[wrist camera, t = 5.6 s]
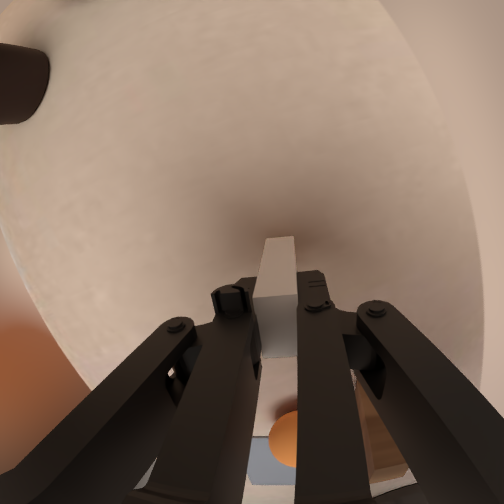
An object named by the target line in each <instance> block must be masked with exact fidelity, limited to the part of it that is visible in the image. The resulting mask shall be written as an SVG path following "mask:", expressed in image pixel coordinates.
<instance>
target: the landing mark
mask: <svg viewBox="0 0 504 504" xmlns="http://www.w3.org/2000/svg"><path fill="white" fill-rule="evenodd" d="M268 439H269V437H252V442H251V448H250V455H249V461H248V468H247V474H248V476H249V479H250V481H251V483H252V485H295V480H296V468H295V467H290V466H287V465H284V464H282V463H281V462H279V461H278V460H277V459H276V458H275V457H274V456H273V454H272V452H271V450H270V447H269V440H268Z"/></svg>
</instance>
